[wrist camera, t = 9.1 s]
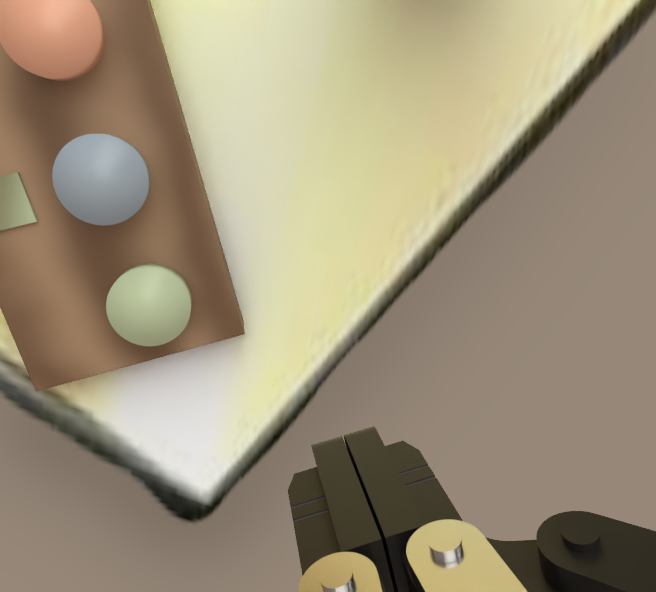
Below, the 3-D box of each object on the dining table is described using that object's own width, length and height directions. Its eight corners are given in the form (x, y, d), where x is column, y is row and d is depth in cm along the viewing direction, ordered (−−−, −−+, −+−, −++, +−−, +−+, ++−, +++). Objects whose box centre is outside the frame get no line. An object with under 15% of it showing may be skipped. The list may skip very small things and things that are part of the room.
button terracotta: (86, -29, 30) (79, -38, 29) (117, 69, 32) (112, 66, 30) (-10, -9, 30) (-23, -17, 28) (26, 90, 31) (16, 87, 30)
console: (137, -43, 35) (128, -62, 32) (243, 320, 42) (244, 335, 39) (-103, 6, 33) (-137, -8, 30) (49, 373, 40) (34, 393, 37)
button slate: (135, 124, 33) (130, 124, 31) (162, 209, 34) (159, 213, 33) (47, 145, 32) (38, 145, 31) (78, 230, 34) (71, 235, 32)
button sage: (178, 253, 36) (176, 259, 35) (201, 326, 38) (200, 334, 36) (99, 274, 36) (94, 280, 34) (126, 346, 37) (121, 355, 36)
